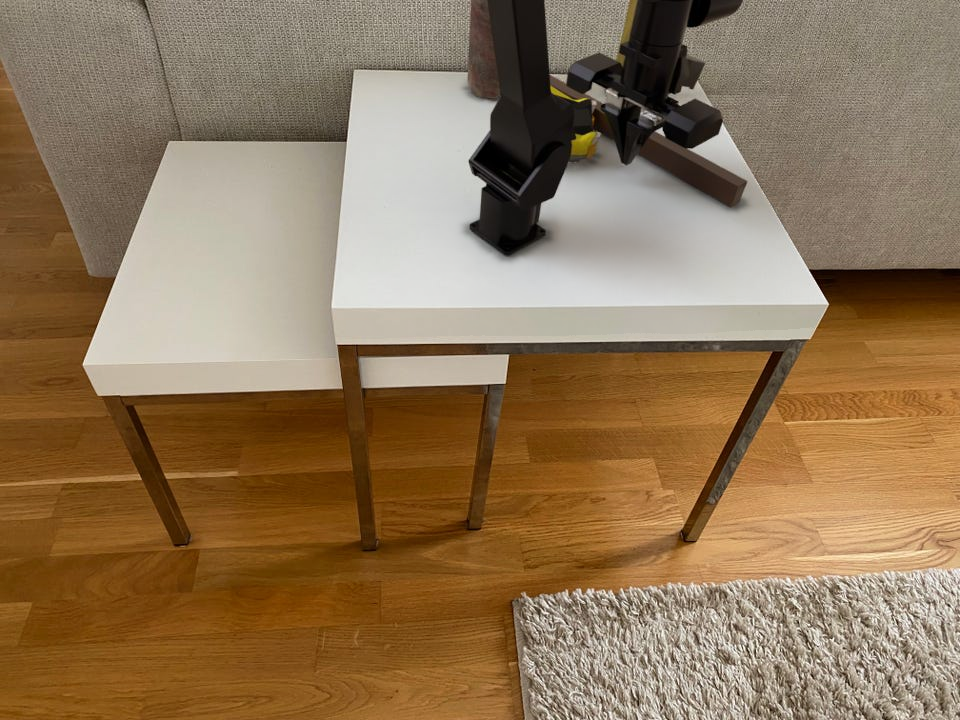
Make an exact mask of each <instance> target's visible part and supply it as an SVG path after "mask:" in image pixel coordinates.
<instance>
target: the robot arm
mask: <svg viewBox="0 0 960 720" xmlns="http://www.w3.org/2000/svg"><path fill="white" fill-rule="evenodd" d="M487 1H488V9H489V16H490V23H491V30H492V38H493V45H494V52H495V59H496V67H497V74H498V81H499V88H500V96H499V98H498V99H497V101H496V103H495V105H494V107H493V109H492V110H491V112H490V115H489V116H490V118H489V130H488V133H487V134H485V136H484V138H483V139H482V141H481V142H480V143H479V145H478V146H477V148H475V151H474V152H473V153H472V155H471V156H470V157H469V159H468V165H469V168H470V172H471V174H472V175H473V176H474V177H477V178H479V179H480V180H481V181H482V182H484V184H485V186H483V187H481V190H480V208H479V219H477V220H475V221H473V222H471V223H469V228H468V229H469V230H470V231H471V232H473V233H474V234H475V235H476V236H478V237H479V238H480V239H482V240H483V241H484V242H486V243H487V244H489V245H490V246H491V247H492V248H494V249H495V250H497V251H498V252H499V253H500V254H502V255H504V256H510V255H513V254H515V253H516V252H518V251H520V250H522V249H523V248H525V247H527V246H530V245H531V244H533V243H535V242H537V241H539V240H540V239H542V238H544V237H546V236H547V230H546V229H545V228H544V227H542V226H541V225H539V224H538V223H539V221H540V215H541V209H542V204H543V203H545V202H547V201H549V200H552V199H554V198H555V195H556V193H557V192H558V188H559V186H560V185H561V181H562V180H563V177H564V174H565V172H566V170H567V167H568V165H569V163H570V162H569V159H570V156H571V151H572V140H576V138H577V137H576V135H575V133H574V128H573V123H574V110H573V106H572V105H571V104H570V103H568V102H566V101H565V100H563V99H561V98H560V97H558V96H556V95H555V94H553V93H552V92H551V87H550V75H551V73H550V62H549V61H550V59H549V46H548V31H547V16H546V3H545V0H487ZM743 2H744V0H637V2H636V7H635V12H634V17H633V21H632V26H631V31H630V35H629V40H628V41H627V42H624V43H622V44H621V45H620V44H619V45H620V50H619V53H620V54H622V55H624V56H625V59H624V64H623V66H622V65H621V63H620V62H618V61H616V59H614V58H612V57H610V56H607V55H606V54H603V53H602V52H596V53H594V54H592V55H588V56H586V57H584V58H580V59H578V60H576V61H574V62H573V63H572V64H571V65H570V67H569V68H568V70H567V73H566V74H567V75H566V80H565V83H566V86H567V87H569V88H571V89H573V90H575V91H577V92H579V93H581V94H584V93H585V94H587V93H588V92H590V91H591V90H592V89H593V84H596V85H597V86H599V87H601V88H603V89H605V94H606V96H605V102H604V103H603V104H602V105H601V108H600V109H601V111H602V112H604V113H605V115H606V117H607V120H608V123H609V125H610V128H611V130H612V133H613V136H614V139H615V141H614V143H615V145H616V150H617V152H618V157H619V160H620V163H621V164H622V165H624V166H625V167H626V166H629V165H631V164H633V161H634V160H635V158H636V157H637V155H638V153H639V151H640V150H641V148H642V147H643V145H644V144H645V142H646V141H647V140H648V138H649V137H650V136H651V134H652V133H653V132H654V131H655V132H657V131H658V130H660V129H661V131H662V132H663V136H665V137H666V139H668V140H670V141H672V142H674V143H676V144H678V145H679V146H681V147H683V148H687V149H689V150H692V149H694V148H696V147H698V146H700V145H702V144H703V143H705V142H707V141H709V140H711V139H713V138H715V137H717V136H718V135H719V134H720V131H721V128H722V127H723V126H722V125H723V123H724V117H723V114H722V111H721V110H720V109H718V108H716V107H714V106H712V105H710V104H708V103H706V102H703V101H701V100H699V99H697V98H693V99H691V100H689V101H687V102H685V103H683V104H681V105H680V104H679V103H680V101H679V100H677V99H675V98H673V97H670V96H669V95H670V94H672V95H673V96H674V95H677V94H679V93H681V92H682V88H683V87H684V88H688V89H689V90H691V91H693V90H694V89H695V87H696V85H697V83H698V80H699V79H700V76H701V74H702V71H703V70H704V68H705V65H706V62H705V61H703V60H702V59H701V60H700V59H699V58H697V57H694V56H692V55H690V54H688V52H689V51H688V45H685V44H683V42H684V38H685V34H686V30H687V28H690V29H693V28H698V27H701V26H704V25H707V24H710V23H713V22H716V21H719V20H722V19H726V18H728V17H730V16H732V15H734V14H735V13H736V12H737V11H738V10H739V9H740V7H741V6H742V4H743Z"/></svg>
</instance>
